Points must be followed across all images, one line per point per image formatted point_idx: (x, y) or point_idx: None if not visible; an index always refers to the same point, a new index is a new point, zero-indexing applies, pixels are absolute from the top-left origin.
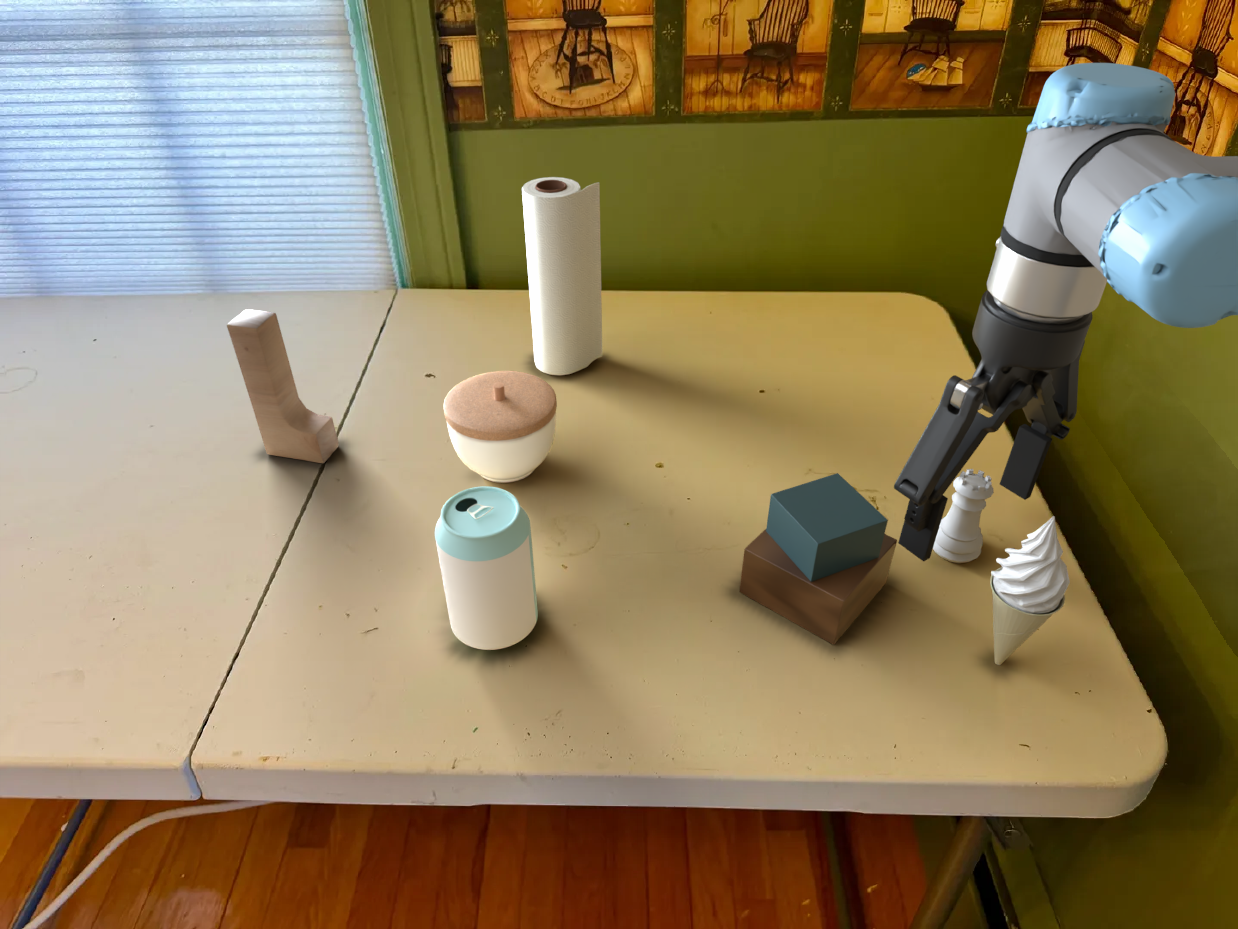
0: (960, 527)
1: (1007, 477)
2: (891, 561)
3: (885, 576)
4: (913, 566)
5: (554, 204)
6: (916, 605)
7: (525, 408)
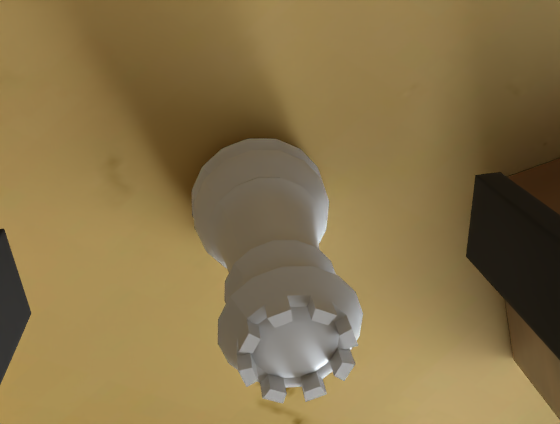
0: (312, 224)
1: (14, 324)
2: None
3: None
4: (391, 194)
5: None
6: (494, 95)
7: None
